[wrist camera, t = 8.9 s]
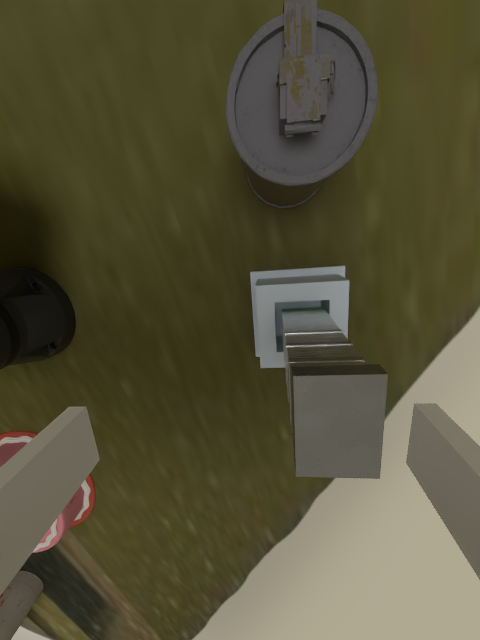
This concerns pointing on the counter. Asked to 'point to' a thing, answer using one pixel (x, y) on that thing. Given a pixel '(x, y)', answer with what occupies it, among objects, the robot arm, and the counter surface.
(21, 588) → the thermos bottle
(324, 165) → the canister
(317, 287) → the stand base
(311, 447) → the column
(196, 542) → the counter surface
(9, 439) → the cake
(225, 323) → the counter surface
